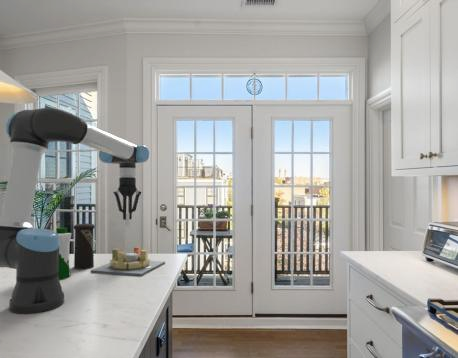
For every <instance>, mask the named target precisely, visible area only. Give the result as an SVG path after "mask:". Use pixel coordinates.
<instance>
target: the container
mask: <svg viewBox="0 0 458 358" xmlns="http://www.w3.org/2000/svg"><path fill="white" fill-rule="evenodd" d="M95 227H96V225H95V224H93V223H76V224H75V225H73V229H74V255H73V257H74V259H73V261H74V262H73V267H74V269H77V270H85V269H86V270H87V269H91V268H93V267H95V266H94V265H95V260H94V259H95V258H94V256H95V255H94V253H95V251H94V248H95V247H94V244H95V243H94V229H95Z"/></svg>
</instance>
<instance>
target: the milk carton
mask: <svg viewBox="0 0 458 358" xmlns="http://www.w3.org/2000/svg"><path fill="white" fill-rule="evenodd" d="M55 232H56V233H57V234H58V236H59V244H60V245H59V271H58V278H59V281H60V280H63V278H64V279H68V278H70V277H71V273H70V242H71V238H72V234H73V233H72V232H68V227H62V226H61V227H57V228H56V229H55ZM67 277H68V278H67Z"/></svg>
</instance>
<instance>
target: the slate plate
mask: <svg viewBox="0 0 458 358" xmlns="http://www.w3.org/2000/svg"><path fill="white" fill-rule="evenodd" d="M137 261H138V254H136V253H134V252H129V253H127V252H126V262H137ZM163 265H166V261H164V260H162V261H161V260H160V261H159V260H149V265H147V266H145V267H142V268H137V269H127V270H125V269H114V268H112V267H111V266H110V262H109V263H106V264H103V265H101V266H98V267H95V268H93V269H90V272H92V273H93V274H103V273H107V274H106V275H108V274H109V275H117V276H118V275H121V276H131V277H132V276H135V277H143V276H145V275H146V274H149V273H150V272H152V271H154V270H156V269H158V268H160V267H161V266H163Z"/></svg>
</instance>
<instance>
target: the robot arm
mask: <svg viewBox="0 0 458 358" xmlns="http://www.w3.org/2000/svg"><path fill="white" fill-rule="evenodd" d="M5 131H6V134H7V135H8V138H9V139H10V140H9V145H10V146H11V148H12V149H13V152H12V157H11V163H10V169H9V173H8V179H7V183H6V188H5V193H4V194H5V195H4V199H3V204H2V209H1V214H0V268H7V269H13V270H16V273H15V275H16V276H15V277H16V280H15V286H14V288H13V291H12V294H11V298H9V302H8V310H9V312H11V313H15V314H34V313H35V314H36V313H41V312H46V311H51V310H53V309H54V310H55V309H56V308H58V307H60V306H62V305H63V304H64V302H65V293H64V291H63V289H62V286H61V285H62V284H61V281H60V280H59V278H58V271H59V245H60V244H59V236H58V234H57V233H56V230H52V229H47V228H39V227H38V228H34V226H33V224H32V223H31V217H32V211H33V206H34V200H35V196H36V189H37V184H38V178H39V177H38V176H39V172H40V167H41V162H42V161H41V160H42V157H43V155H44V154H45V153H47V152H48V151H49V145H50V143H53V142H55V143H56V142H63V143H68V144H69V143H70V144H72V145H79V144H81V145H84V146H86V147H89V148H91V149H95V150H96V151H97V150H98V151H99V152H98V157H99V160H100V162H102V163H105V164H113V165H115V164H116V165H119V167H118V168H119V169H118V170H119V180H118V181H119V182H118V184H119V186H118V188H117V190H116V191H113V195H114V196H115V200H116V203H117V207H118V209H117V210H118V211H119V212H120V213H122V220H124V227H125V228H129V227H130V220H132V217H133V215H132V214H133V212H134V213H135V212H136V210H137V207H138V202H139V199H140V196H141V194H142V191H140V190H138V188H137V187H136V186H137V182H136V180H137V179H136V176H137V171H136V170H137V168H136V164H140V163H145V162H147V161H149V157H150V151H149V148H148V146H146V145H144V144H134V143H131V142H129V141H127V140H125V139H123V138H120V137H117V136H115V135H113V134H111V133H109V132H106V131H104V130H102V129H99V128H97V127H95V126H93V125H90V124H89V123H88V122H87V121H86V119H84V118H81V117H79V116H77V115H76V114H73V113H70V112H67V111H64V110H62V109H59V108H55V107H43V108H36V109H35V108H33V109H24V110H20V111H17V112H15V113H13V114H12V115H10V117H9V118H8V119H7V122H6V125H5ZM134 194H135V197H134V202H133V195H134ZM120 195H121V196H122V202H121V199H120ZM127 198H128V204H127ZM127 206H128V208H127ZM127 209H128V210H127ZM127 211H128V212H127Z"/></svg>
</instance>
